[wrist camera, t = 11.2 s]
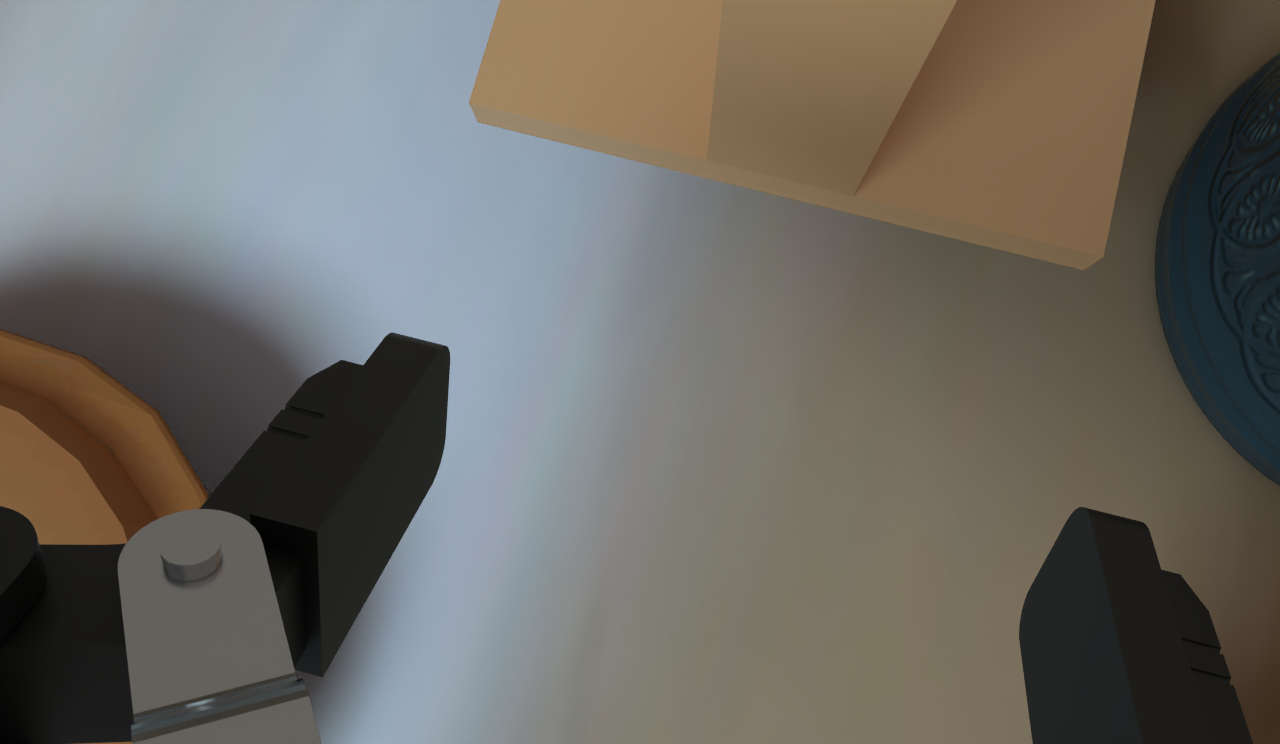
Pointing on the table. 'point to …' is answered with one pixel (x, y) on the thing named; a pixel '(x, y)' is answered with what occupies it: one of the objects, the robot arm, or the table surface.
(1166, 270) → the canister
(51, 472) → the pie
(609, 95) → the lid
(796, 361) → the table surface
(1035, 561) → the table surface
